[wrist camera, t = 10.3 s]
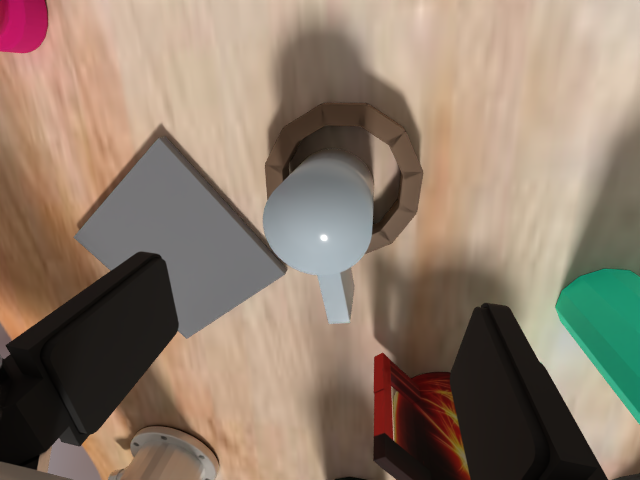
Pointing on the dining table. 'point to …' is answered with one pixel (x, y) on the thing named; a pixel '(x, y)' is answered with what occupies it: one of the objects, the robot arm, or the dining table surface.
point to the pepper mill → (22, 25)
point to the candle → (607, 327)
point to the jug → (324, 223)
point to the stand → (375, 125)
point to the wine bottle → (350, 478)
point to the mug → (416, 425)
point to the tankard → (630, 477)
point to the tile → (182, 237)
